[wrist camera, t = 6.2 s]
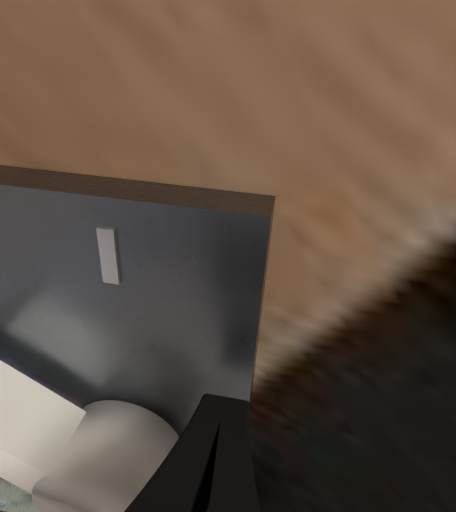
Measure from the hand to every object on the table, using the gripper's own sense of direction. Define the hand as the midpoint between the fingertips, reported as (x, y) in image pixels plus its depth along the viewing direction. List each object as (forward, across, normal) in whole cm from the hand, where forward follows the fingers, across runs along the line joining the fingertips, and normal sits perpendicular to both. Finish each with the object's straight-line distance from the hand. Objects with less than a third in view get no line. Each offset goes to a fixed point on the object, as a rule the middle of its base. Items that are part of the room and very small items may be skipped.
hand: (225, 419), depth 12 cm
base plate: (+3, +6, +2) cm, 7 cm away
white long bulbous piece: (+1, +6, +3) cm, 7 cm away
